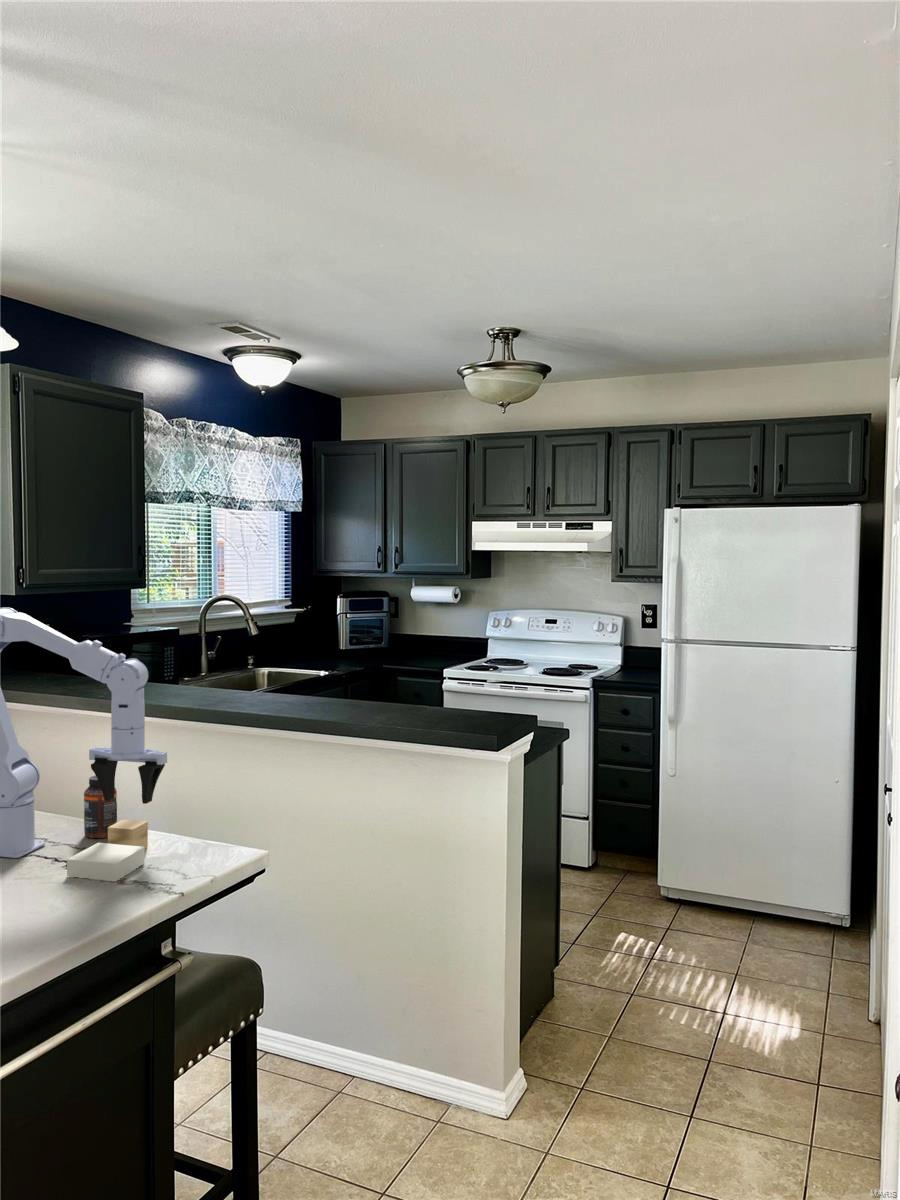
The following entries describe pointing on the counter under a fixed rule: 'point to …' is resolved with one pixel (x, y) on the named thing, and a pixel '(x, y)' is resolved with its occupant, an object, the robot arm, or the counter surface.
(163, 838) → the counter surface
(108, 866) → the base block
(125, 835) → the oak block
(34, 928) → the counter surface
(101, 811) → the supplement bottle
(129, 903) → the counter surface
